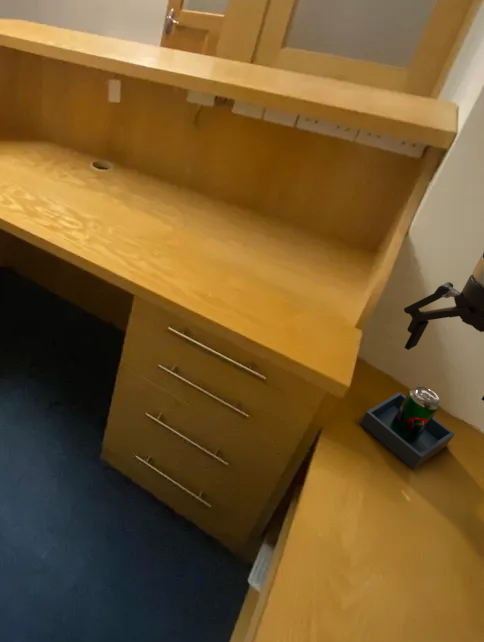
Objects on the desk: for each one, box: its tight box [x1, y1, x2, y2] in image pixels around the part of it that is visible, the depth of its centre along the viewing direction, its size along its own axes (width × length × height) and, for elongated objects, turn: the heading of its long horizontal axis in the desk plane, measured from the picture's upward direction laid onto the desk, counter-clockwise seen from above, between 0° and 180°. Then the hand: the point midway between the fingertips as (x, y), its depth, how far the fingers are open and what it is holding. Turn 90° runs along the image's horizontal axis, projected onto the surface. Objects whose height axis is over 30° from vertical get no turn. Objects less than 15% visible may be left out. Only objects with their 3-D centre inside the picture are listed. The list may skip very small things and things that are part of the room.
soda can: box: [390, 386, 441, 442], centre depth 102 cm, size 5×5×12 cm
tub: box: [359, 391, 456, 470], centre depth 105 cm, size 11×11×4 cm
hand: (446, 371), depth 96 cm, fingers open, 13 cm apart
